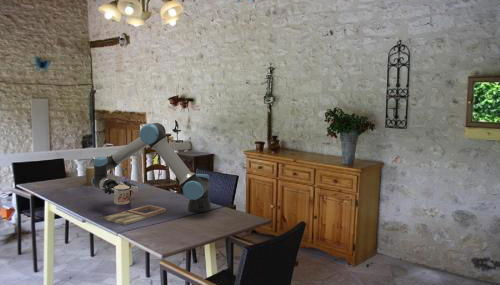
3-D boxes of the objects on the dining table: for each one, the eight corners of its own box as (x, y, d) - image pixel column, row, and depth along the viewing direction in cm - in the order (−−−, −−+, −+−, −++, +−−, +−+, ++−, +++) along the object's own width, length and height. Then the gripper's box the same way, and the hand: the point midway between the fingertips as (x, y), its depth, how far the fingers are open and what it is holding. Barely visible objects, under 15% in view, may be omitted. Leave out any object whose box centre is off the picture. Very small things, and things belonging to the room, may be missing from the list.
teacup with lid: (117, 205, 234) (117, 185, 232) (110, 202, 240) (110, 182, 239) (137, 202, 242) (137, 182, 240) (130, 199, 248) (130, 180, 247)
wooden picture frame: (166, 211, 260) (166, 208, 260) (144, 218, 245) (144, 214, 245) (149, 207, 268) (149, 204, 268) (127, 213, 253) (127, 210, 253)
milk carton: (99, 186, 328) (99, 162, 326) (86, 185, 328) (85, 161, 326) (104, 183, 338) (104, 160, 336) (91, 183, 338) (91, 159, 336)
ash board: (145, 219, 243) (145, 216, 243) (124, 225, 231) (124, 222, 231) (124, 213, 253) (124, 211, 253) (103, 219, 241) (103, 216, 240)
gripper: (126, 188, 262) (145, 194, 247) (89, 194, 244) (108, 201, 229) (126, 176, 261) (146, 182, 246) (89, 181, 243) (108, 187, 229)
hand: (127, 191), depth 238 cm, fingers closed on teacup with lid, 12 cm apart
